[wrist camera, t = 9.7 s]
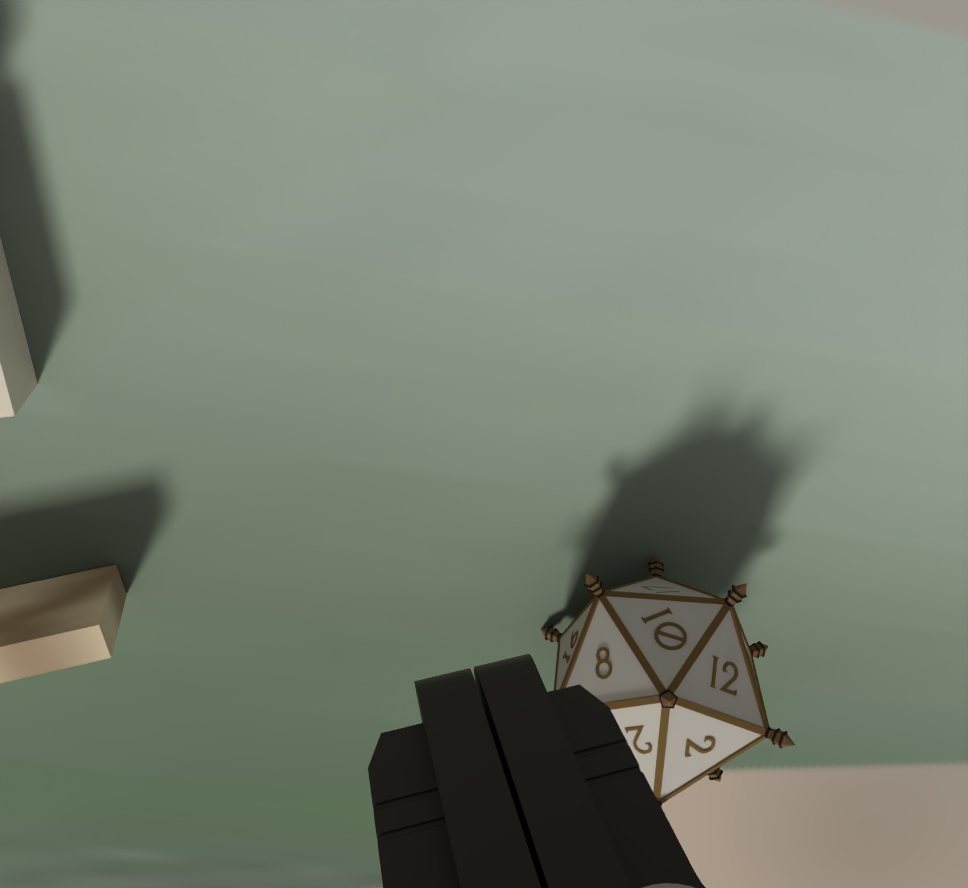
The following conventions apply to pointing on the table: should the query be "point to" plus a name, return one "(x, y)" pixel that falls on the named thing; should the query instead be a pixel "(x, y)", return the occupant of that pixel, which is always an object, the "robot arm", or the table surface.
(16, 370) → the cream tile
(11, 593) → the box
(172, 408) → the table surface
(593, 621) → the game die
